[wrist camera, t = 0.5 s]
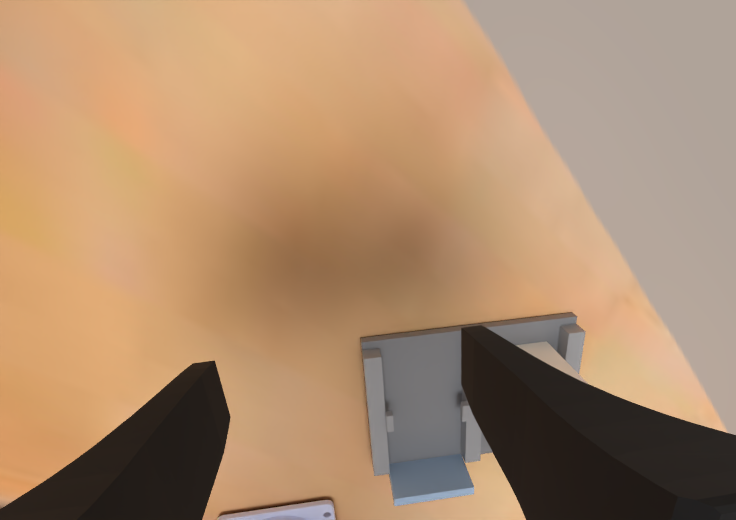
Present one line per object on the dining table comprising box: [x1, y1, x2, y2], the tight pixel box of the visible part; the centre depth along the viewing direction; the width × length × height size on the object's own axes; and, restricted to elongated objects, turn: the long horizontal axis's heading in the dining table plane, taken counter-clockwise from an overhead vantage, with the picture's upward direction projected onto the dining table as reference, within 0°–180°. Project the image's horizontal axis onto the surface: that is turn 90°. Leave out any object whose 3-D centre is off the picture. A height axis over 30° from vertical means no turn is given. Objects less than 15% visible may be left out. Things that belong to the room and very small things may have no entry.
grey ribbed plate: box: [361, 313, 585, 506], centre depth 23 cm, size 10×13×3 cm
